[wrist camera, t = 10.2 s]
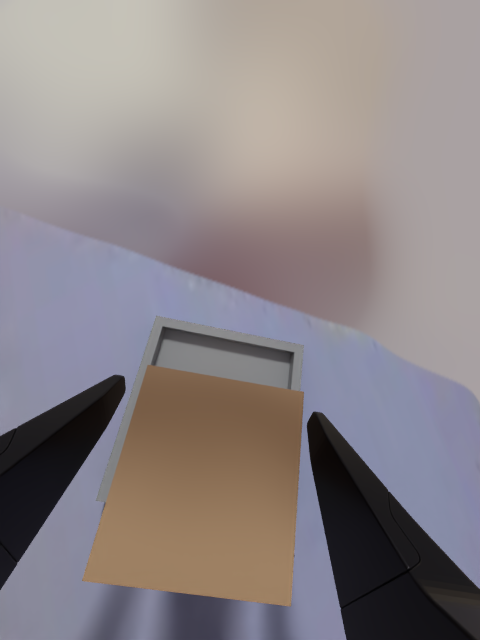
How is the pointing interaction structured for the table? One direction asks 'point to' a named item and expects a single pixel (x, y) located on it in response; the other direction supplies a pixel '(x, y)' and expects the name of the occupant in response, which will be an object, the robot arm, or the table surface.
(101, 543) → the tan slab
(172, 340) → the box
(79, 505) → the table surface
